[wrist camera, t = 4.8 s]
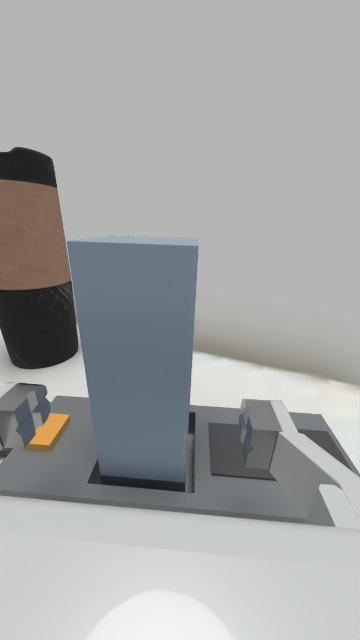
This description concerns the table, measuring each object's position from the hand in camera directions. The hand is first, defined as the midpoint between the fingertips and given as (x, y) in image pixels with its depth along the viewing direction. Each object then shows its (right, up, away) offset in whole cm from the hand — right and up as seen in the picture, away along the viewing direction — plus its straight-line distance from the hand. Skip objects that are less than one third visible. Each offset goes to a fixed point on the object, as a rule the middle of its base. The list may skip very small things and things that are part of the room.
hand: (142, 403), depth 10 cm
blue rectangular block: (0, -6, +6) cm, 8 cm away
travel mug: (-14, -1, +19) cm, 24 cm away
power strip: (-1, -6, +6) cm, 8 cm away
